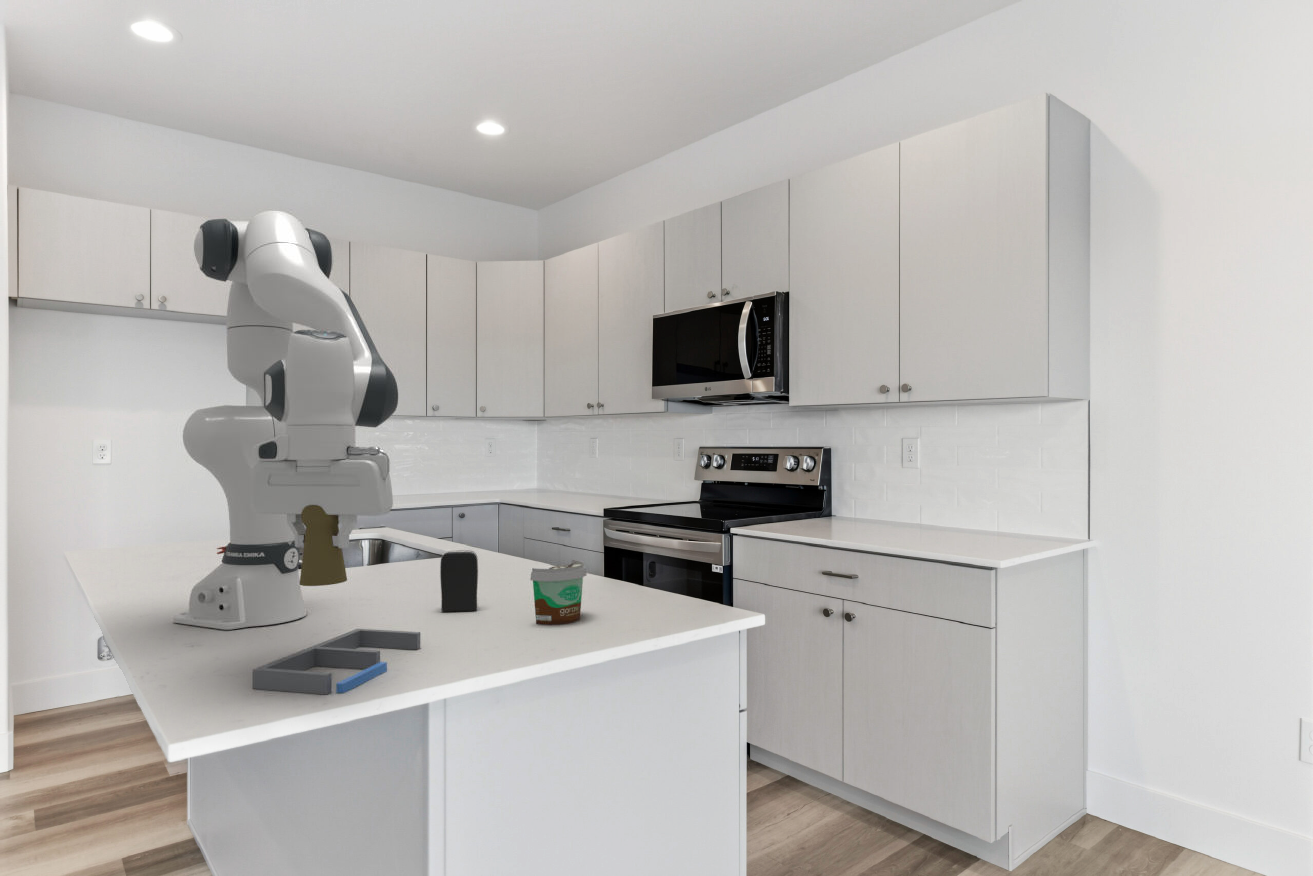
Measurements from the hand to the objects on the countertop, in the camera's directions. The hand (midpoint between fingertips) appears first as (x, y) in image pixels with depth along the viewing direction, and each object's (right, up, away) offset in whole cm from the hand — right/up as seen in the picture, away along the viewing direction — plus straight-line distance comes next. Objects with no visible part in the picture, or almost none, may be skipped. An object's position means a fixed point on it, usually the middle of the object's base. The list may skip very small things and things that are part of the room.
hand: (321, 547), depth 109 cm
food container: (+30, -18, +34) cm, 48 cm away
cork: (0, -5, 0) cm, 5 cm away
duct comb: (+1, -18, +5) cm, 19 cm away
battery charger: (+8, -18, +43) cm, 47 cm away
